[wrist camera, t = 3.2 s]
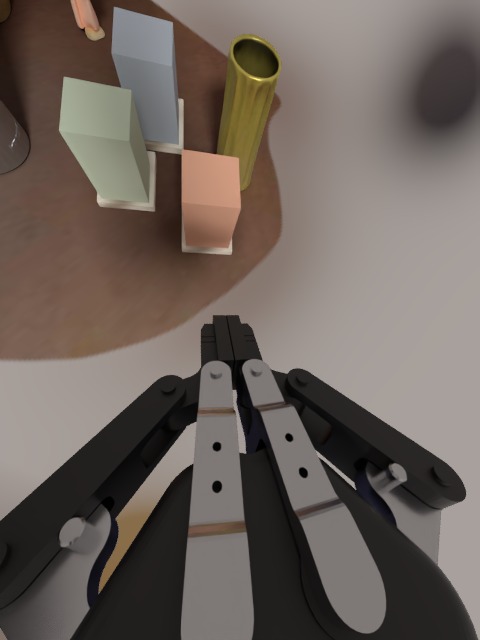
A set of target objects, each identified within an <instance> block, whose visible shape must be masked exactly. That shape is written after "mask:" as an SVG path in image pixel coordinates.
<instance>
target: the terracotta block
mask: <svg viewBox="0 0 480 640" xmlns="http://www.w3.org/2000/svg"><path fill="white" fill-rule="evenodd" d="M240 209H241V203H240V178H239V158H237V157H230V156H223V155H217V154H210V153H203V152H197V151H190V150H183V149H182V210H183V220H184V230H185V240H186V246H198V247H214V248H229V244H230V241H231V238H232V235H233V232H234V228H235V225H236V222H237V219H238V215H239V212H240Z"/></svg>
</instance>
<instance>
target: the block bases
mask: <svg viewBox="0 0 480 640" xmlns="http://www.w3.org/2000/svg"><path fill="white" fill-rule="evenodd" d="M178 102H179V145H177V144H171V143H164V142H158V141H151V140H145V139H144V143H145V147H146V150H153V151H160V152H167V153H174V154H181V155H182V149H183V150H184V105H183V99H178ZM147 155H148V159H149V163H150V188H149V203H143V202H133V201H123V200H113V199H102V198H101V197H100V195H99V194H98V193H97V202H98V204H99V205H100V207H110V208H121V209H132V210H143V211H154V212H155V200H156V154H155V152H152V151H147ZM182 252H190V253H208V254H227V255H231V254H232V238H231V241H230V244H229V248H214V247H198V246H186V240H185V230H184V220H183V210H182Z"/></svg>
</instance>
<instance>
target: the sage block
mask: <svg viewBox="0 0 480 640" xmlns="http://www.w3.org/2000/svg"><path fill="white" fill-rule="evenodd" d="M59 132H60V133H61V135H62V136H63V138H64V140H65V141H66V143H67V144H68V146H69V147H70V149H71V151H72V152H73V154H74V155H75V157H76V159H77V160H78V162H79V163H80V165H81V167H82V168H83V170H84V171H85V173H86V175H87V176H88V178H89V179H90V181H91V183H92V184H93V186H94V187H95V189H96V191H97V192H98V194H99V195H100V197H101V198H102V199H113V200H123V201H133V202H143V203H149V188H150V163H149V159H148V155H147V151H146V147H145V143H144V139H143V135H142V131H141V127H140V123H139V119H138V115H137V111H136V107H135V103H134V99H133V95H132V91H131V90H129V89H124V88H119V87H114V86H109V85H104V84H98V83H93V82H88V81H83V80H78V79H73V78H68V77H64V81H63V92H62V104H61V115H60V126H59Z"/></svg>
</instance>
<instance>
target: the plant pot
mask: <svg viewBox="0 0 480 640" xmlns="http://www.w3.org/2000/svg"><path fill="white" fill-rule="evenodd" d="M10 11H11V6H10V1H9V0H0V23H1V22H2V21H4V20H6V19H7V18H8V16H9V15H10Z"/></svg>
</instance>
